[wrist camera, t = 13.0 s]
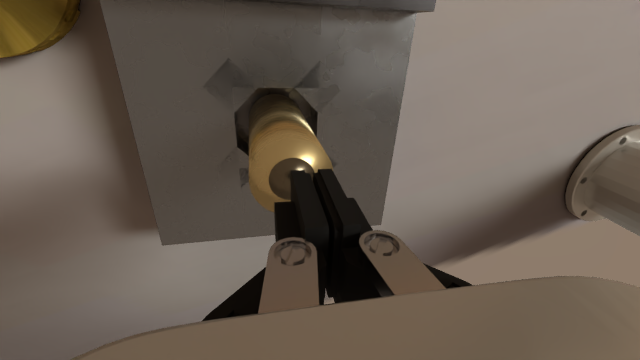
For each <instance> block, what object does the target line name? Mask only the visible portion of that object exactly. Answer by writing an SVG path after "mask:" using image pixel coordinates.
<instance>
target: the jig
mask: <svg viewBox="0 0 640 360" xmlns="http://www.w3.org/2000/svg"><path fill="white" fill-rule="evenodd" d="M435 3H436V0H100V4H101V8H102V12H103V16H104V20H105V24H106V27H107V31H108V35H109V39H110V43H111V47H112V51H113V55H114V59H115V63H116V67H117V70H118V74H119V78H120V82H121V86H122V90H123V94H124V98H125V102H126V106H127V110H128V113H129V117H130V121H131V125H132V129H133V133H134V137H135V141H136V145H137V149H138V153H139V156H140V160H141V164H142V168H143V172H144V176H145V180H146V184H147V188H148V192H149V196H150V199H151V203H152V207H153V211H154V215H155V219H156V223H157V227H158V231H159V235H160V239H161V242H162V245H172V244H183V243H193V242H204V241H214V240H225V239H235V238H246V237H256V236H267V235H275V219H274V212H271V211H269V210H267V209H266V208H264V207H263V206H261V205H260V204H259V203H258V202H257V201H256V199H255V198H254V196H253V195H252V192H251V190H250V186H249V114H250V110H251V108H252V106H253V105H254V104H255V102H256V101H257V100H259V99H260V98H261V97H263V96H266V95H269V94H281V95H284V96H286V97H288V98H290V99H291V100H293V101H294V102H295V103H296V105H297V106H298V108H299V109H300V111H301V113H302V114H303V116H304V118H305V119H306V121H307V123H308V124H309V126H310V127H311V129H312V131H313V132H314V134H315V136H316V137H317V139H318V141H319V142H320V144H321V145H322V147H323V149H324V150H325V152H326V154H327V155H328V157H329V159H330V161H331V163H332V167H333V172H334V174H335V176H336V178H337V180H338V181H339V183H340V185H341V187H342V189H343V191H344V193H345V194H346V196H347V198H354V199H355V200H356V202H357V204H358V205H359V207H360V209H361V211H362V212H363V214H364V216H365V217H366V219H367V221H368V223H369V224H370V226H372V225H381V222H382V216H383V210H384V204H385V198H386V192H387V186H388V180H389V174H390V168H391V162H392V156H393V151H394V145H395V139H396V133H397V127H398V121H399V115H400V109H401V103H402V97H403V91H404V85H405V79H406V74H407V68H408V62H409V56H410V50H411V44H412V38H413V32H414V26H415V20H416V14H417V13H421V12H433V11H434V8H435Z"/></svg>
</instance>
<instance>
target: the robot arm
mask: <svg viewBox="0 0 640 360" xmlns="http://www.w3.org/2000/svg"><path fill="white" fill-rule="evenodd" d="M290 186H291V201H287V202H274V219H275V238H276V243H274V244H273V245H272V246H271V248H270V250H269V253H268V259H267V265H266V267H265V268H264V269H263V270H262V271H260V272H259V273H258V274H257V275H256V276H254V277H253V278H252V279H251V280H249V281H248V282H247V283H246V284H245V285H243V286H242V287H241V288H240V289H238V290H237V291H236V292H235V293H234V294H232V295H231V296H230V297H229V298H228V299H226V300H225V301H224V302H223V303H221V304H220V305H219V306H218V307H217V308H215V309H214V310H213V311H212V312H211V313H209V314H208V315H207V316H206V317H205V318H204V319H203V320H202V322H196V323H190V324H184V325H178V326H172V327H167V328H161V329H157V330H153V331H148V332H144V333H140V334H136V335H133V336H130V337H127V338H123V339H120V340H117V341H114V342H111V343H108V344H105V345H103V346H101V347H98V348H96V349H94V350H91V351H89V352H87V353H84V354H82V355H80V356H77V357H75V358H73V359H71V360H640V287H637V286H634V285H630V284H626V283H623V282H618V281H614V280H608V279H603V278H596V277H584V276H554V277H544V278H532V279H522V280H514V281H505V282H497V283H489V284H481V285H471V284H470V283H468V282H466V281H463V280H461V279H459V278H456V277H454V276H452V275H449V274H447V273H445V272H442V271H440V270H438V269H435V268H433V267H430V266H428V265H426V264H423V263H422V262H421V261H420V260H419V259H418V258H417V257H416V255H415V254H414V253H413V252H412V251H411V250H410V249H409V248H408V247H407V246H406V245H405V244H404V242H403V241H402V240H401V239H399V238H398V237H397V236H396V235H394V234H392V233H389V232H386V231H380V230H374V231H373V230H372V228H371V226H370V224H369V223H368V221H367V219H366V217H365V216H364V214H363V212H362V211H361V209H360V207H359V205H358V204H357V202H356V200H355V199H354V198H347V196H346V194H345V193H344V191H343V189H342V187H341V185H340V183H339V181H338V180H337V178H336V176H335V174H334V172H333V170H332V169H318V172H317V173H313V181H312V178H311V175H310V173H305V170H291V174H290ZM565 198H566V206H567V208H568V210H569V211H570V212H571V213H572V214H573V215H575V216H576V217H578V218H580V219H582V220H585V221H597V220H602V219H605V218H607V219H609V220H611V221H612V222H614V223H616V224H618V225H620V226H622V227H624V228H625V229H627V230H629V231H631V232H633V233H635V234H637V235H639V236H640V125H634V126H630V127H626V128H624V129H622V130H619V131H617V132H615V133H613V134H612V135H610V136H608V137H606V138H605V139H604V140H602V141H601V142H600V143H598V144H597V145H596V146H595V147H594V148H593V149H592V150H591V151H590V152H589V153H588V154H587V155H586V156H585V157H584V158H583V159H582V161H581V162H580V163H579V165H578V166H577V168H576V169H575V171H574V172H573V174H572V176H571V178H570V180H569V183H568V186H567V189H566V195H565ZM325 287H326V291H327V295H328V297H329V298H330V297H333V298H334V301H335V303H332V304H325V305H324V298H325Z"/></svg>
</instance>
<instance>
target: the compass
mask: <svg viewBox="0 0 640 360" xmlns="http://www.w3.org/2000/svg"><path fill="white" fill-rule="evenodd" d="M79 2H80V0H0V58H4V57H12V56H19V55H25V54H29V53H32V52H36V51H41V50H44V49H46V48H48V47H50V46H52V45H54V44H55V43H57V42H58V41H60V40H61V39H62V38H63V37H64V36H65V35H66V34H67V33H68V32H69V31H70V30H71V28H72V27H73V26H74V24H75V23H76V21H77V19H78V16H79V14H80V11H78V6H79Z"/></svg>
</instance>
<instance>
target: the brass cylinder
mask: <svg viewBox="0 0 640 360" xmlns="http://www.w3.org/2000/svg"><path fill="white" fill-rule="evenodd" d="M318 169H332V170H333V167H332V163H331V161H330V159H329V157H328V155H327V154H326V152H325V150H324V149H323V147H322V145H321V144H320V142H319V141H318V139H317V137H316V136H315V134H314V132H313V131H312V129H311V127H310V126H309V124H308V123H307V121H306V119H305V118H304V116H303V114H302V113H301V111H300V109H299V108H298V106H297V105H296V103H295V102H294V101H293V100H291V99H290V98H288V97H286V96H284V95H281V94H269V95H266V96H263V97H261V98H260V99H259V100H257V101H256V102H255V104H254V105H253V106H252V108H251V110H250V114H249V186H250V190H251V192H252V195H253V196H254V198H255V199H256V201H257V202H258V203H259V204H260V205H261V206H263V207H264V208H266V209H267V210H269V211H271V212H274V202H287V201H291V186H290V174H291V170H305V173H310V175H311V178H312V181H313V173H317V172H318Z"/></svg>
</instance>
